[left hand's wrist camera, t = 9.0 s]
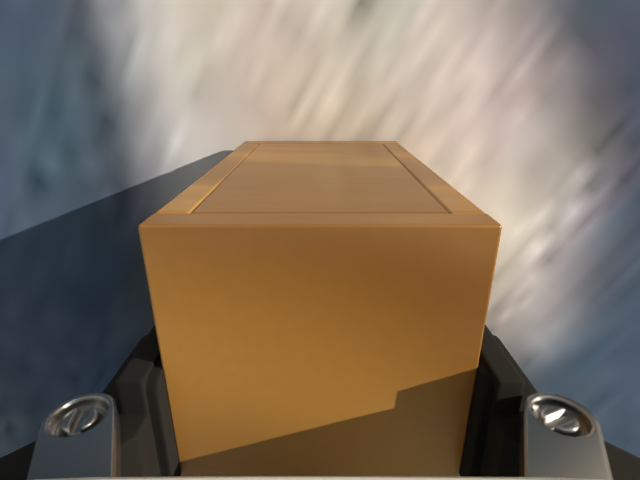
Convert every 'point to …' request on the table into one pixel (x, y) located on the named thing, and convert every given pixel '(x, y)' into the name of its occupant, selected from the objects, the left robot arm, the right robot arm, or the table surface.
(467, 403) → the box
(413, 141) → the table surface
